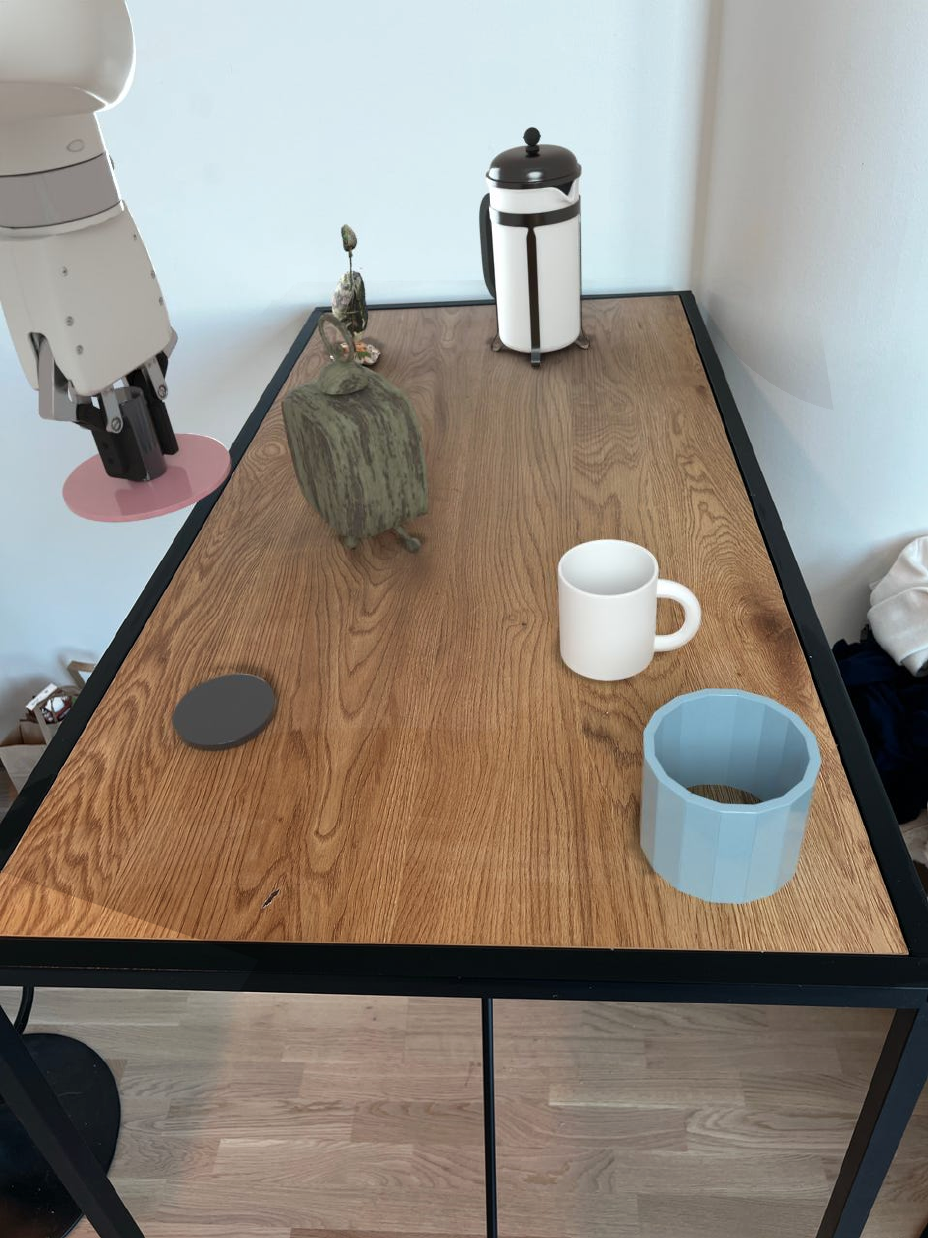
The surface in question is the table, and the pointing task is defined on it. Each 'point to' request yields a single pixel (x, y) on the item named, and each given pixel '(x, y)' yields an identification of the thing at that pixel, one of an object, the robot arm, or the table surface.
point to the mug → (616, 609)
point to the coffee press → (533, 246)
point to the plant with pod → (353, 306)
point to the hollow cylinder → (739, 758)
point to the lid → (167, 475)
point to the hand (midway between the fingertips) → (143, 462)
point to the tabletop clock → (356, 448)
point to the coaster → (224, 712)
